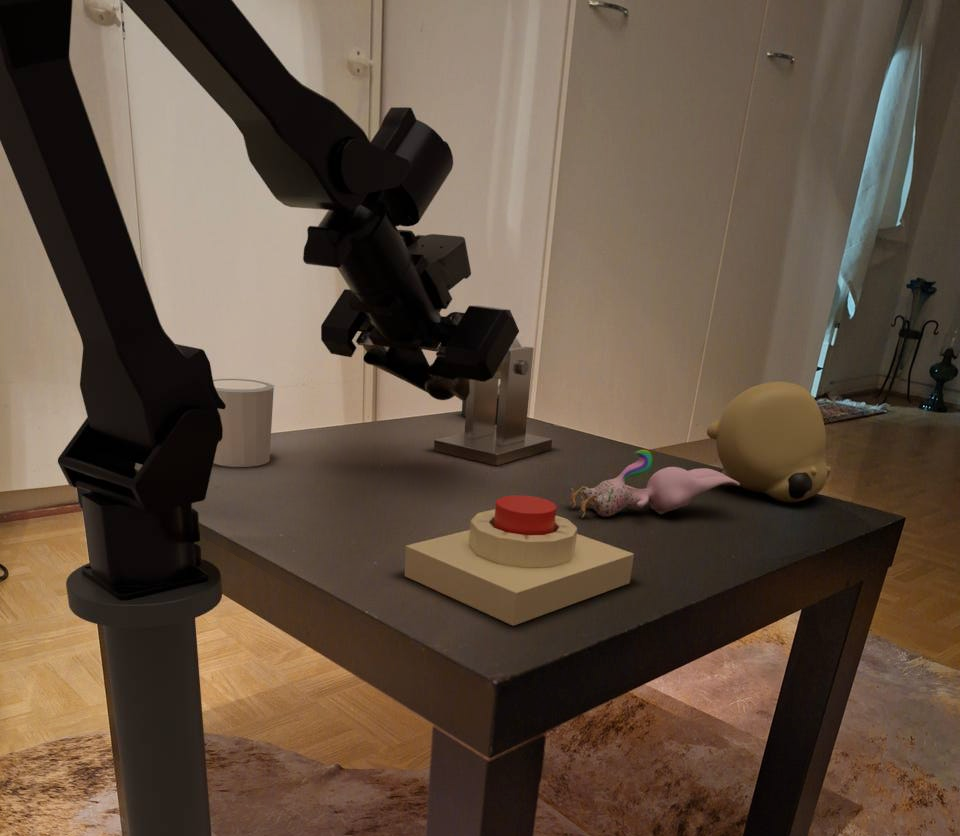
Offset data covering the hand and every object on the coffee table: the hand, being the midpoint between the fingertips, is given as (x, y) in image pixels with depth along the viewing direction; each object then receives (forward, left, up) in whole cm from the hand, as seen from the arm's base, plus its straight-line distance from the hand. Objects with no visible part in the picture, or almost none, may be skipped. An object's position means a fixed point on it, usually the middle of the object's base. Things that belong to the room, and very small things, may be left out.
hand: (450, 393), depth 84 cm
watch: (+20, +14, -7) cm, 25 cm away
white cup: (-17, +11, -7) cm, 21 cm away
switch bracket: (+8, +2, -7) cm, 11 cm away
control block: (-18, -26, -7) cm, 32 cm away
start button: (-18, -26, -3) cm, 32 cm away
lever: (+4, +1, 0) cm, 4 cm away
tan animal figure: (+20, -24, -7) cm, 32 cm away
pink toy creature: (+4, -22, -7) cm, 24 cm away
